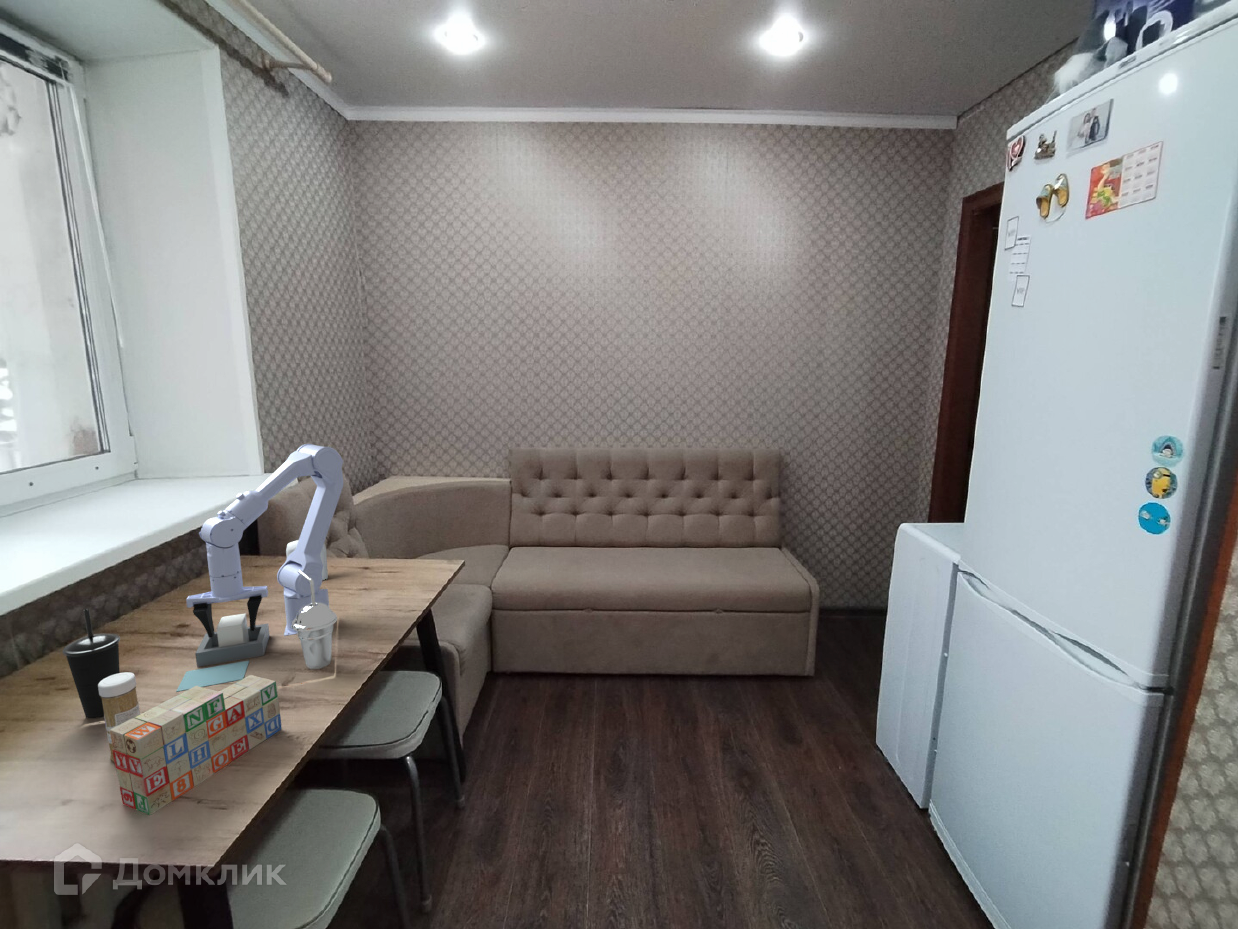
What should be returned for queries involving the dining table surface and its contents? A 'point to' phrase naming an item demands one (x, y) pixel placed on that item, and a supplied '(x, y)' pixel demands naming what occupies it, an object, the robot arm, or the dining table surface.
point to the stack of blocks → (191, 739)
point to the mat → (213, 675)
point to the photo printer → (293, 545)
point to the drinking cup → (92, 666)
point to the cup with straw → (315, 630)
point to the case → (232, 647)
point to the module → (232, 630)
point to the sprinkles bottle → (118, 701)
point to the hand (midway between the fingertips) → (232, 632)
